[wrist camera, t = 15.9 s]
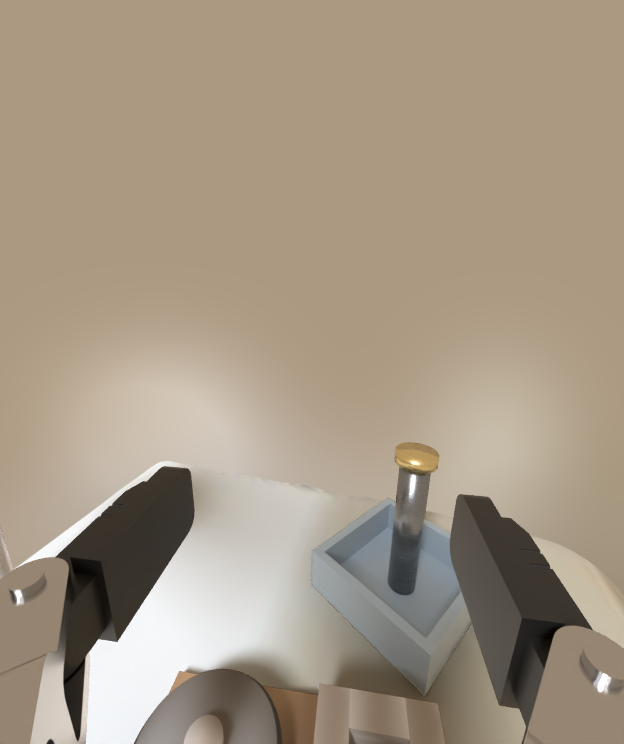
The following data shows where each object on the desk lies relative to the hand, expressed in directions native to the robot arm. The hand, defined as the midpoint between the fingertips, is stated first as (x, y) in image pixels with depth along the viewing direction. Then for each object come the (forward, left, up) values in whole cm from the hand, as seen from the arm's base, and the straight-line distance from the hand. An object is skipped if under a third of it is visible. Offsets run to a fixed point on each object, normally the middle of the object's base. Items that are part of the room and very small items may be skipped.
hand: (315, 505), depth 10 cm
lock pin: (-10, +23, -28) cm, 38 cm away
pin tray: (-10, +23, -29) cm, 39 cm away
